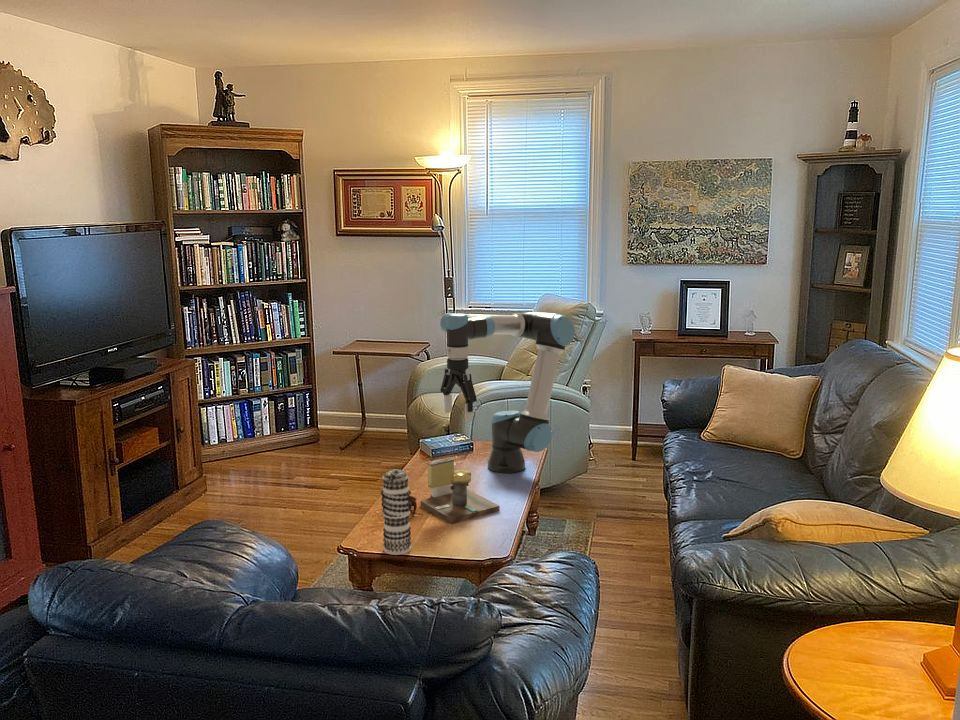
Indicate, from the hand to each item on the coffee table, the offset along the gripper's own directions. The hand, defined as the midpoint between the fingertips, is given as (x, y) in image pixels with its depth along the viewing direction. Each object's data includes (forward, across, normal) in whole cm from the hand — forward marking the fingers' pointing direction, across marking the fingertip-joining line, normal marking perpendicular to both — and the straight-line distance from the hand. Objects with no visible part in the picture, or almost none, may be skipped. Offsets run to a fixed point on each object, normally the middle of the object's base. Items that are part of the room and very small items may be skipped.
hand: (458, 416), depth 282 cm
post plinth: (+30, +9, -6) cm, 32 cm away
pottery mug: (+31, +2, -24) cm, 39 cm away
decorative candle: (+31, +26, -40) cm, 57 cm away
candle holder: (+31, -6, -4) cm, 31 cm away
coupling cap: (+20, +9, -10) cm, 24 cm away
